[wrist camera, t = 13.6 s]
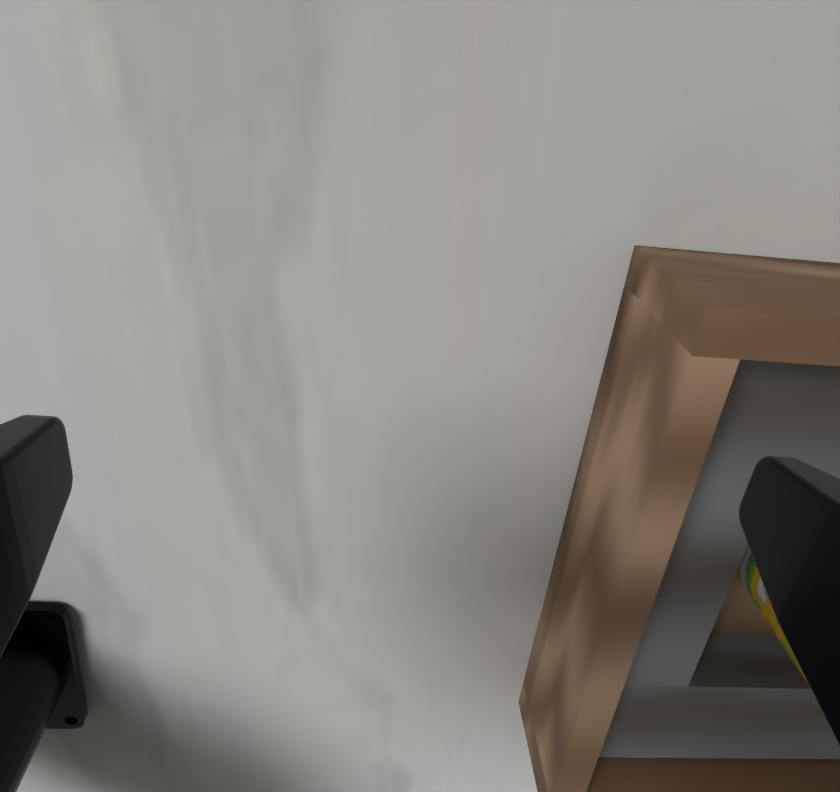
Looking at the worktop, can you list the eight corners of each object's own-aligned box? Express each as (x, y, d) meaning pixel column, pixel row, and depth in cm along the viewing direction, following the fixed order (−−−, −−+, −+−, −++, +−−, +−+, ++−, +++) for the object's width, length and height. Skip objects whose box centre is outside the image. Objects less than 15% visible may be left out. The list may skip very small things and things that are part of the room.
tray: (906, 708, 31) (992, 820, 27) (518, 702, 30) (544, 821, 25) (1178, 292, 22) (1378, 360, 18) (634, 245, 20) (707, 308, 16)
